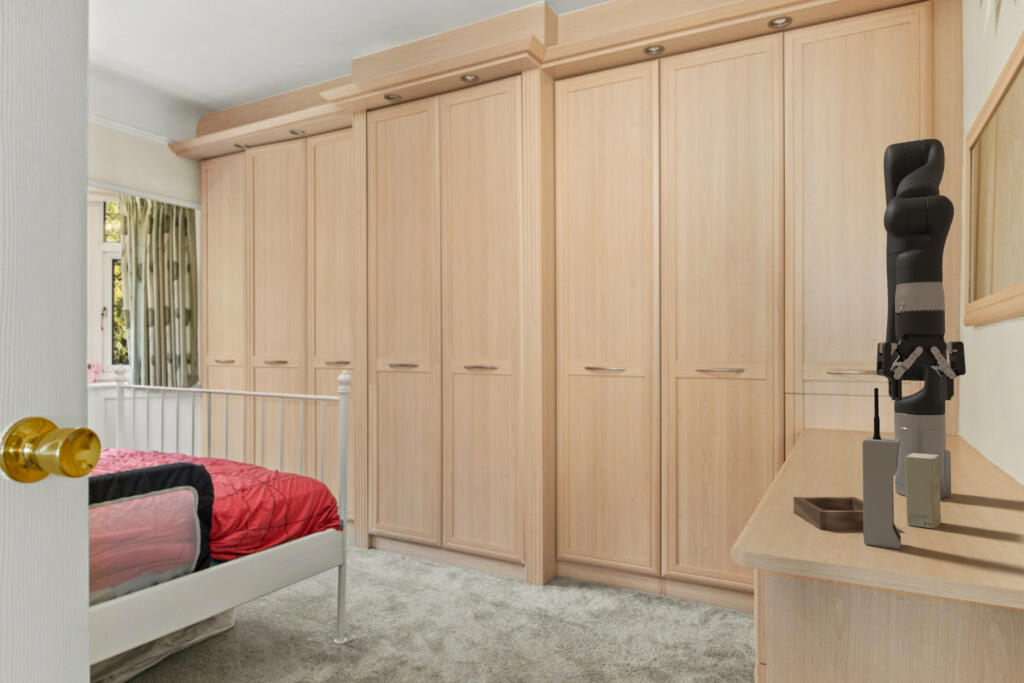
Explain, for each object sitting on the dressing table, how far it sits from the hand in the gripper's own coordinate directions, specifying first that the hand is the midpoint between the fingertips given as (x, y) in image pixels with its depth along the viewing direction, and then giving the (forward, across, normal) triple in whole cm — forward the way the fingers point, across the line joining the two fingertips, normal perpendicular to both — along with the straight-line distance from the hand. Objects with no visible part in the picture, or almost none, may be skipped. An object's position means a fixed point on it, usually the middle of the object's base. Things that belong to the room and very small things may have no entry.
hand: (920, 400), depth 116 cm
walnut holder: (+22, +14, -2) cm, 26 cm away
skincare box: (+22, 0, 0) cm, 22 cm away
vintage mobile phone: (+22, +14, +12) cm, 29 cm away
